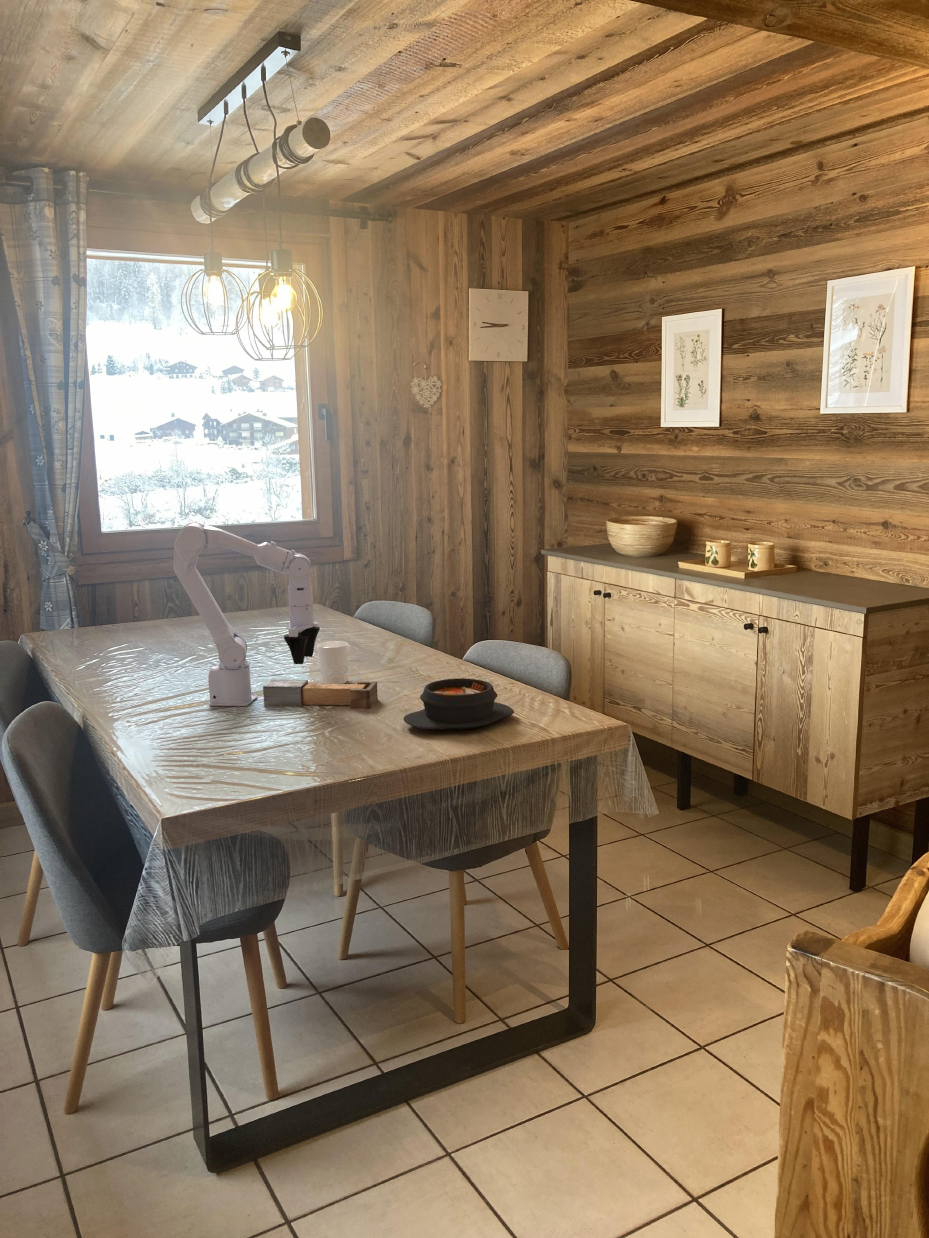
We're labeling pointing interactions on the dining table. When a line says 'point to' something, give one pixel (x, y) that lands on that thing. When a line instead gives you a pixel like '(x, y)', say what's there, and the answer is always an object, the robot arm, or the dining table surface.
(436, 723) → the casserole
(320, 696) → the tan wooden bar
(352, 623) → the dining table surface
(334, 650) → the white cup
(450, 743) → the dining table surface
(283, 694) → the sleeve
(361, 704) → the socket
